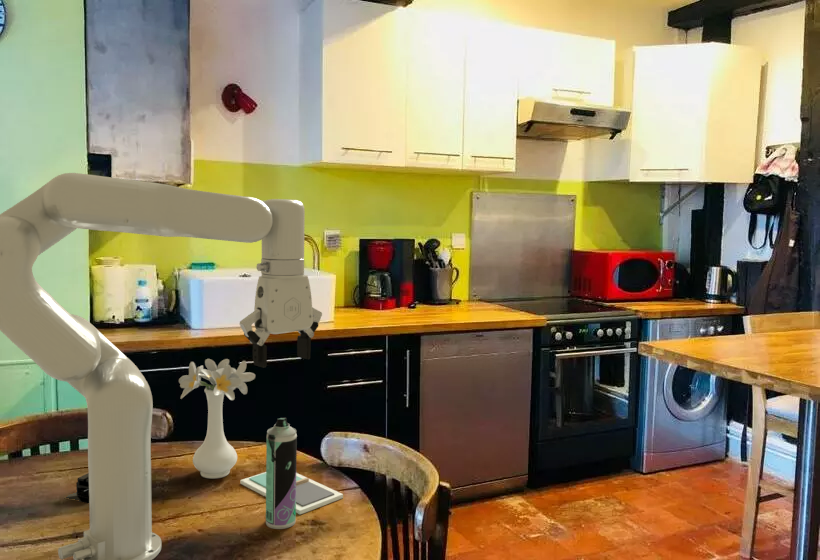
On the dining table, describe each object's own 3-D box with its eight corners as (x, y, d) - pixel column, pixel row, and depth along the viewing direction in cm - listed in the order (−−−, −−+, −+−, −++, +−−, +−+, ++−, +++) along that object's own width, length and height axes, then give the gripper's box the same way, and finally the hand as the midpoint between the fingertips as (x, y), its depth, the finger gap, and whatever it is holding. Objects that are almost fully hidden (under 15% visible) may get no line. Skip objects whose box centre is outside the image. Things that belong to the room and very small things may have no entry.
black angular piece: (51, 500, 136) (51, 478, 135) (80, 486, 142) (79, 465, 142) (102, 511, 132) (102, 488, 131) (129, 496, 139) (129, 474, 138)
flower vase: (260, 460, 158) (261, 353, 156) (221, 492, 140) (221, 372, 138) (209, 454, 161) (209, 349, 158) (164, 484, 143) (163, 367, 141)
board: (299, 514, 132) (300, 507, 132) (240, 483, 145) (240, 476, 145) (343, 498, 140) (343, 490, 140) (282, 469, 153) (282, 463, 153)
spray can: (289, 530, 125) (290, 424, 123) (260, 527, 126) (261, 421, 124) (299, 517, 131) (301, 415, 128) (272, 514, 132) (273, 412, 129)
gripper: (253, 273, 115) (253, 373, 117) (333, 267, 127) (332, 358, 129) (229, 269, 120) (229, 365, 122) (308, 264, 132) (307, 351, 134)
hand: (282, 361), depth 125 cm, fingers open, 9 cm apart
